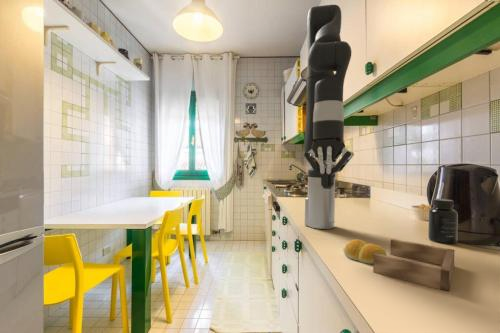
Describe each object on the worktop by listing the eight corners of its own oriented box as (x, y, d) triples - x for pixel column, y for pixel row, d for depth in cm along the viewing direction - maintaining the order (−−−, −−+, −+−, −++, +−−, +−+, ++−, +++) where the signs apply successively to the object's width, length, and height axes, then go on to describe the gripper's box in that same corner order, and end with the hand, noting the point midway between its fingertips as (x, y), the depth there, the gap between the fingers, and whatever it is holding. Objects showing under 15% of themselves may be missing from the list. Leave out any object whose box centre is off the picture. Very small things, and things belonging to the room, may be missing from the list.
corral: (373, 271, 53) (373, 254, 53) (391, 253, 65) (391, 238, 65) (448, 291, 45) (449, 271, 45) (454, 266, 57) (454, 249, 57)
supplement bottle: (423, 237, 80) (424, 197, 80) (447, 238, 79) (448, 198, 79) (437, 244, 73) (437, 200, 73) (463, 245, 72) (464, 201, 72)
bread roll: (377, 268, 55) (377, 249, 55) (338, 256, 62) (338, 240, 62) (393, 259, 61) (393, 242, 61) (355, 249, 67) (356, 234, 67)
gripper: (359, 120, 66) (358, 189, 66) (311, 125, 75) (310, 186, 75) (348, 116, 60) (347, 191, 60) (298, 121, 69) (297, 187, 69)
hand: (327, 188), depth 67 cm, fingers closed
